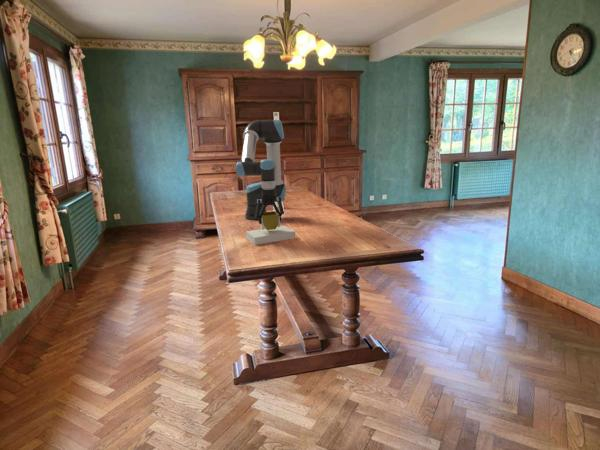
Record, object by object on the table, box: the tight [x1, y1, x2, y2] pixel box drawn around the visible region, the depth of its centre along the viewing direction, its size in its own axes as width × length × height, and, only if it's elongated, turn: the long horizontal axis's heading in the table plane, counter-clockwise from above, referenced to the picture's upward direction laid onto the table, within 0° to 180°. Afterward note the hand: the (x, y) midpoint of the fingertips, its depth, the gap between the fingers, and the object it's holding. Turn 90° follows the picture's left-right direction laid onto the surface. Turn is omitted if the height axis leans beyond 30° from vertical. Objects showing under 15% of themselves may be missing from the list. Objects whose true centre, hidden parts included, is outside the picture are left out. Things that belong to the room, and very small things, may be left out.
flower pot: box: [262, 210, 279, 230], centre depth 215 cm, size 9×9×9 cm
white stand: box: [245, 225, 296, 246], centre depth 217 cm, size 14×24×4 cm, turn 117°
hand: (270, 227), depth 216 cm, fingers closed on flower pot, 9 cm apart
